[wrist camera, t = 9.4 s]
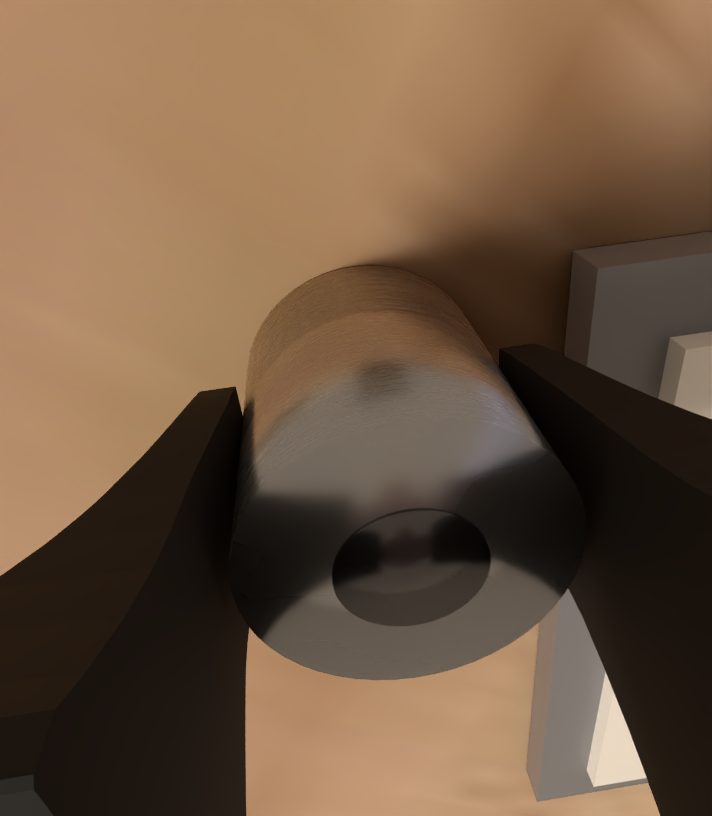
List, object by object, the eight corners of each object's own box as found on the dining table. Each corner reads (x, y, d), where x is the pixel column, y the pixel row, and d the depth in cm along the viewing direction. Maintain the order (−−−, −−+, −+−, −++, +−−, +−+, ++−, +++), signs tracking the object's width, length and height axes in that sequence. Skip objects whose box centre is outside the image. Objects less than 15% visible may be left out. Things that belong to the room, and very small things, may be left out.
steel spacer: (463, 238, 11) (588, 378, 6) (487, 441, 13) (589, 643, 9) (215, 299, 11) (171, 477, 6) (283, 489, 13) (285, 712, 9)
